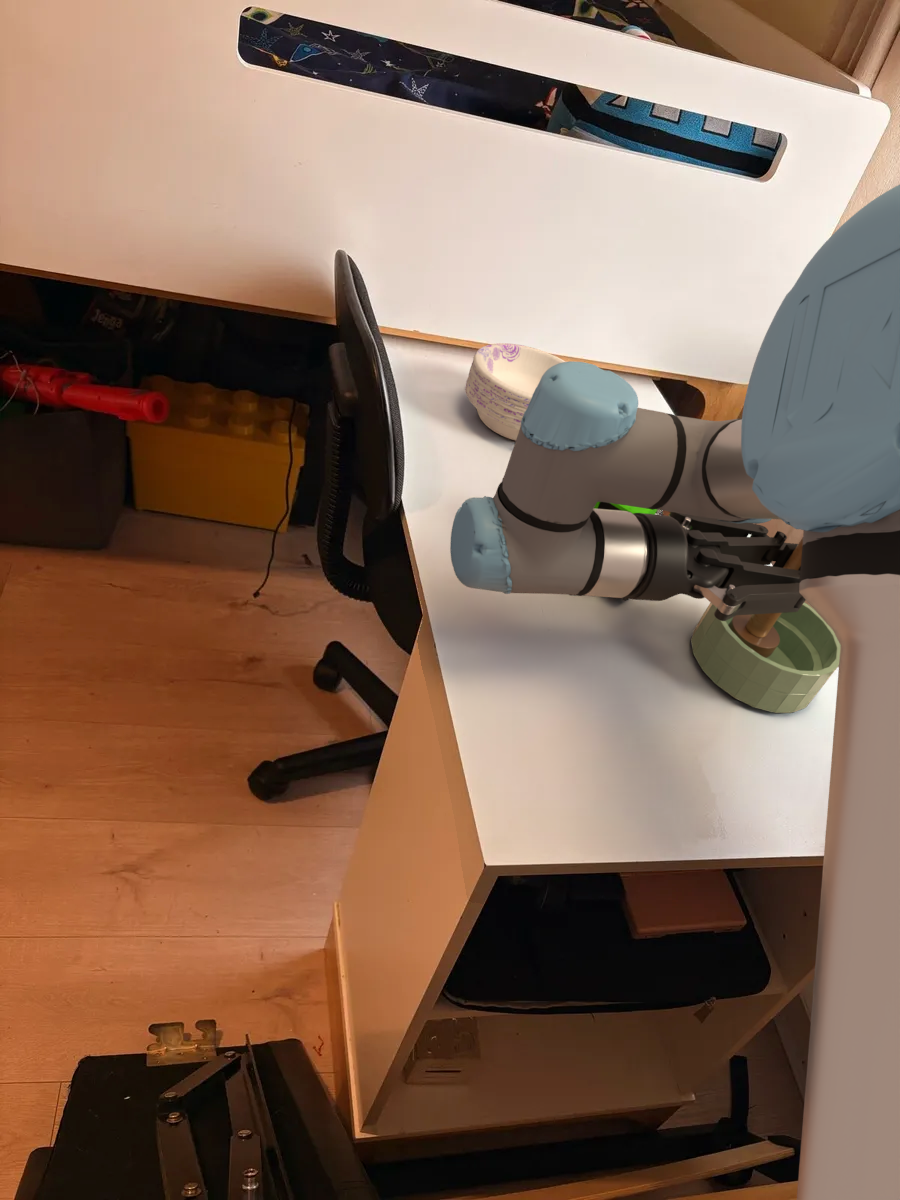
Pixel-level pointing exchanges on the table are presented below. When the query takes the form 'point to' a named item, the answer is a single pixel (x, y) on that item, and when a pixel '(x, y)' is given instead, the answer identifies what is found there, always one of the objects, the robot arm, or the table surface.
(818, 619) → the bowl
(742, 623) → the brown rod with base
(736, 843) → the table surface
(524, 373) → the paper bowls
